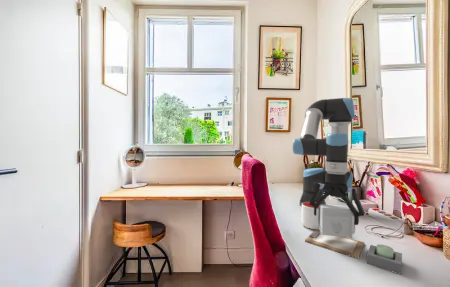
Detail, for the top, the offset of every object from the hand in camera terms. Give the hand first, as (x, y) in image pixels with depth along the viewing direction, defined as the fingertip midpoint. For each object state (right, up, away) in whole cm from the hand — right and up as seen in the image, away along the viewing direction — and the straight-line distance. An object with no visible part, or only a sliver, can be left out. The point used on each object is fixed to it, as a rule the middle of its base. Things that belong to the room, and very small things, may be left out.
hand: (334, 228), depth 83 cm
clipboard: (0, -6, 0) cm, 6 cm away
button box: (+9, -6, -13) cm, 17 cm away
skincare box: (0, -2, 0) cm, 2 cm away
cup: (-2, -6, +16) cm, 17 cm away
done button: (+9, -4, -13) cm, 17 cm away
